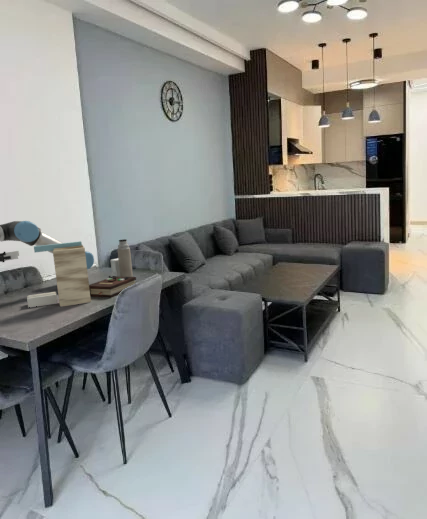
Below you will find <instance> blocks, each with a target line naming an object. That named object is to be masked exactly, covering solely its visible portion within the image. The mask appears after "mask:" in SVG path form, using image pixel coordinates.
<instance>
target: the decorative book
mask: <svg viewBox="0 0 427 519" xmlns="http://www.w3.org/2000/svg"><path fill="white" fill-rule="evenodd" d="M136 280H137V277H136V276H133V277H117V276H112V275H108V276H107V278H106V279H102V280H99V281H96V282H94V283H91V284H90V283H89V289H90V298H91V297H92V298H93V297H94V298H110V299H111V298H114V297H116V296H119V295H120V294H119V293H120V292H121V291H122V290H123V289H125V288H127V287H128V286H131V285H133V284H135V283H136ZM135 285H136V284H135ZM118 294H119V295H118Z"/></svg>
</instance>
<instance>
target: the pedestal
mask: <svg viewBox="0 0 427 519" xmlns="http://www.w3.org/2000/svg"><path fill="white" fill-rule="evenodd" d="M85 251H86V250H85V246H84V245H83V244H82V246H73V247H64V248H55V249H54V250H53V254H52V256H53V264H54V271H55V272H54V273H55V280H56V287H57V293H58V294H57V295H58V296H57V297H58V302H59V307H67V306H74V305H78V304H79V305H80V304H87V303H92V299H91V297H90V289H89V285H90V282H89V274H88V273H89V272H88V270H87V264H86V255H85Z"/></svg>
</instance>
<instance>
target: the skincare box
mask: <svg viewBox="0 0 427 519" xmlns="http://www.w3.org/2000/svg"><path fill="white" fill-rule="evenodd" d="M110 267H111V277H112V276H117V277H120V269H119V260H118V257H117V258H112V259H110Z"/></svg>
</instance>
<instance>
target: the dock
mask: <svg viewBox="0 0 427 519" xmlns="http://www.w3.org/2000/svg"><path fill="white" fill-rule="evenodd" d="M57 295H58V294H57V291H51V292H44V293H38V294H36V293H35V294H30V295H27V298H26V300H27V302H26V303H27V308H28V309H29V307H30V308H35V307H36V306H37V307H42V306H47V305H55V304H58V296H57ZM37 307H36V308H37Z"/></svg>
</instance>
